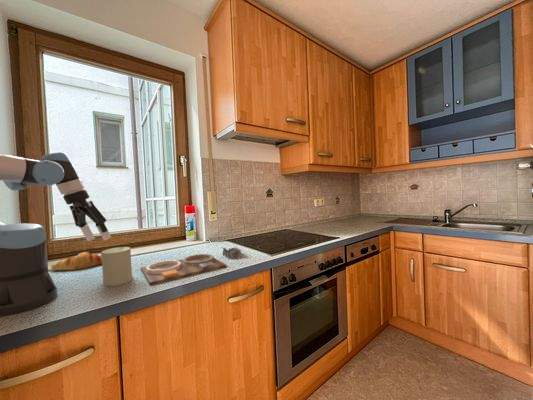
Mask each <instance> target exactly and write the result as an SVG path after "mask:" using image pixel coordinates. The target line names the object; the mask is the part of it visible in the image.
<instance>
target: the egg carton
mask: <svg viewBox="0 0 533 400" xmlns="http://www.w3.org/2000/svg"><path fill="white" fill-rule="evenodd" d="M221 249H222V256H224V257H225V258H227V259H229V260H233V259H234V258H237V259H239V258H241V257H242V252H241V251H242V250H241V249H240V248H238V247H237V246H235V247H231V248H230V247H229V248H228V249H227V248H226V247H223V246H221Z"/></svg>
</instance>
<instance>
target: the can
mask: <svg viewBox="0 0 533 400" xmlns="http://www.w3.org/2000/svg"><path fill="white" fill-rule="evenodd" d="M131 250H132V249H131V247H129V246H121V247H120V246H118V247H112V248H107V249H105V250H104V249H103V250H102V251H100V255H101V256H102V264H101V267H102V285H103V286H105V287H115V286H120V285H124V284H126V283H129V282H130V281H132V280H133V272H132V256H131V255H132V254H131V253H132V252H131Z"/></svg>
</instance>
